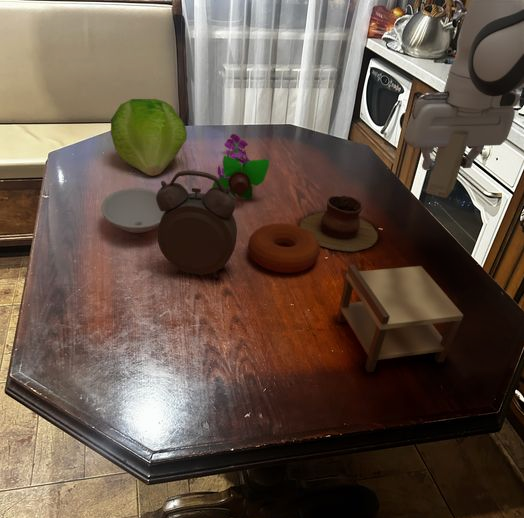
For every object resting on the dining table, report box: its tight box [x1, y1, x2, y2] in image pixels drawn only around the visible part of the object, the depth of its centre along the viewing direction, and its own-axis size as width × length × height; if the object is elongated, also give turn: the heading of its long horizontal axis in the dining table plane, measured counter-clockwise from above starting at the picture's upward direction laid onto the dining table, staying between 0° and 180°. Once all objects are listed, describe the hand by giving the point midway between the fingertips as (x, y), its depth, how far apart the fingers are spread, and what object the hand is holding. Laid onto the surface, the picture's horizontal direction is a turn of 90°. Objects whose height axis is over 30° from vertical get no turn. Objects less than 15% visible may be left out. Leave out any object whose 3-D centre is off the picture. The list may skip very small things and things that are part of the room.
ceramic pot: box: [299, 195, 379, 252], centre depth 114 cm, size 18×18×7 cm
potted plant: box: [211, 133, 270, 200], centre depth 131 cm, size 12×16×35 cm
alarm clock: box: [156, 170, 238, 279], centre depth 94 cm, size 15×7×20 cm, turn 83°
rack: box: [336, 264, 464, 373], centre depth 85 cm, size 14×14×12 cm
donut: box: [247, 223, 321, 274], centre depth 105 cm, size 15×15×5 cm
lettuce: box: [110, 98, 188, 177], centre depth 131 cm, size 17×20×17 cm
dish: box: [100, 187, 165, 234], centre depth 109 cm, size 18×14×5 cm
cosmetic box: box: [425, 133, 468, 199], centre depth 99 cm, size 6×4×12 cm
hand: (446, 168), depth 100 cm, fingers closed on cosmetic box, 7 cm apart
